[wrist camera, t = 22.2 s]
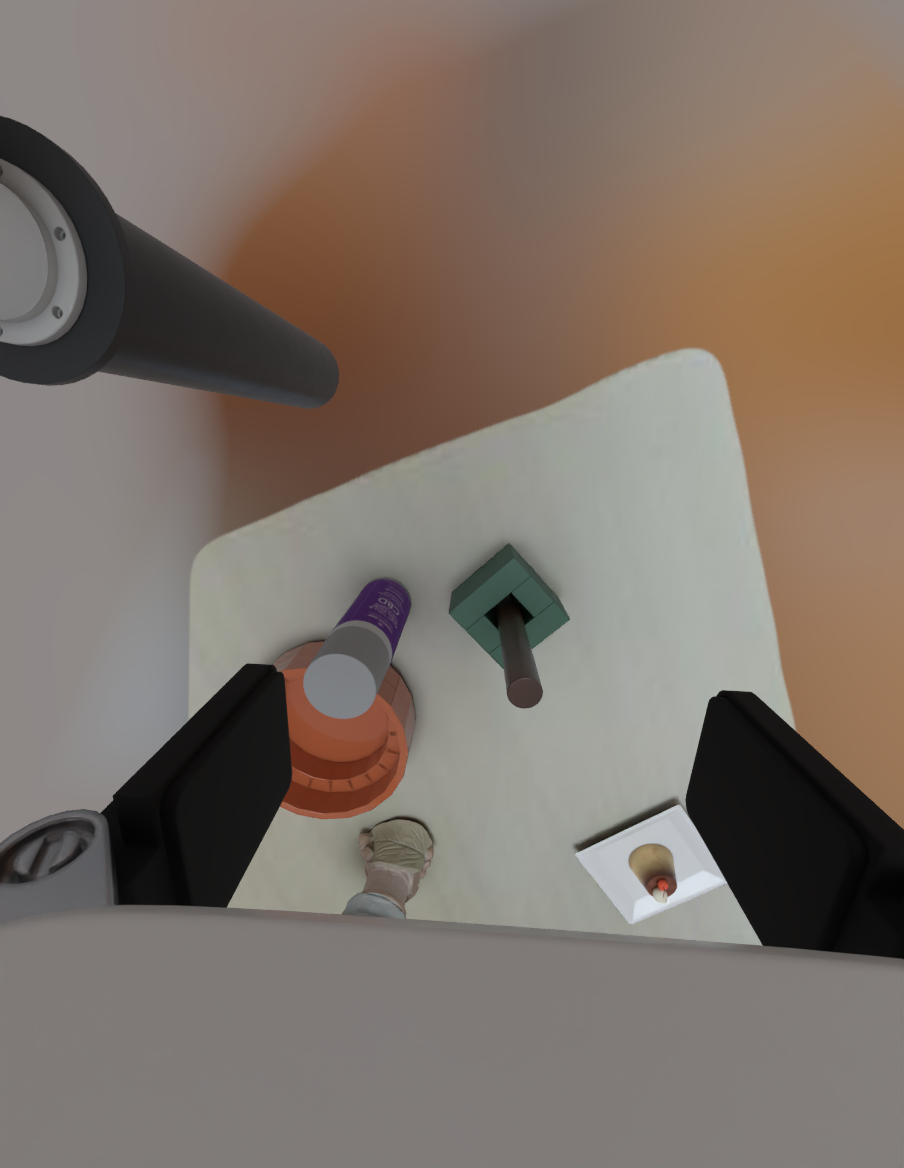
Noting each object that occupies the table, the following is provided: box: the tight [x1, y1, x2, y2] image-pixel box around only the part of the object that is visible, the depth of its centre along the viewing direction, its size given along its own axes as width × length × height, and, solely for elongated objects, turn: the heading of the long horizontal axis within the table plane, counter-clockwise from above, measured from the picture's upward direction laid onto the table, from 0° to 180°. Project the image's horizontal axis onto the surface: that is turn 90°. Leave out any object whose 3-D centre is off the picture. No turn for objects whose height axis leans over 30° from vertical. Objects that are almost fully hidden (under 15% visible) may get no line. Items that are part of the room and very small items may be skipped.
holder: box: [449, 544, 570, 669], centre depth 39 cm, size 7×7×5 cm
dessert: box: [575, 805, 728, 925], centre depth 47 cm, size 12×12×5 cm
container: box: [303, 578, 411, 719], centre depth 35 cm, size 5×5×15 cm
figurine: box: [342, 819, 434, 919], centre depth 41 cm, size 9×8×20 cm
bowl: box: [272, 641, 415, 819], centre depth 43 cm, size 15×15×6 cm
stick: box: [496, 593, 543, 708], centre depth 33 cm, size 2×2×16 cm
